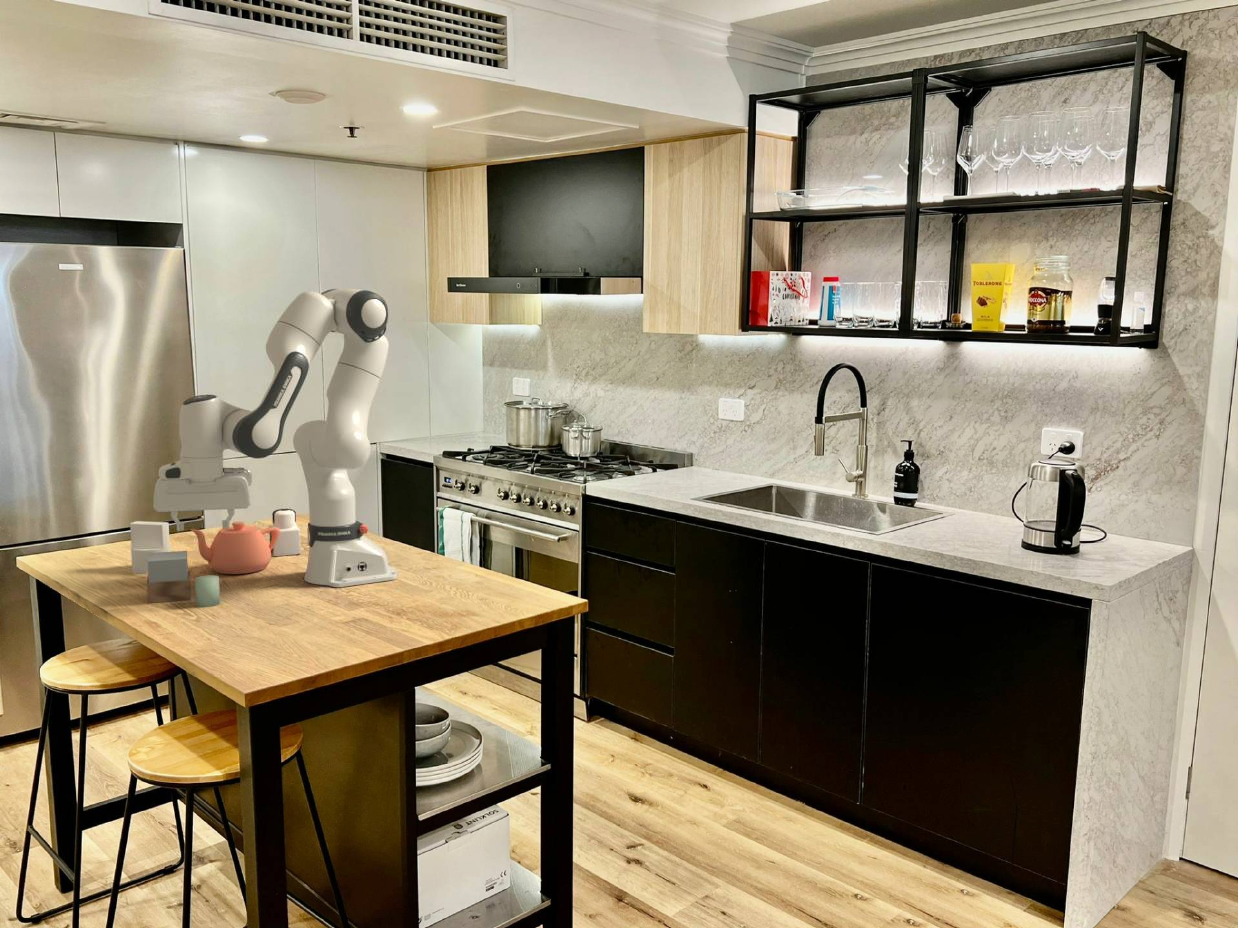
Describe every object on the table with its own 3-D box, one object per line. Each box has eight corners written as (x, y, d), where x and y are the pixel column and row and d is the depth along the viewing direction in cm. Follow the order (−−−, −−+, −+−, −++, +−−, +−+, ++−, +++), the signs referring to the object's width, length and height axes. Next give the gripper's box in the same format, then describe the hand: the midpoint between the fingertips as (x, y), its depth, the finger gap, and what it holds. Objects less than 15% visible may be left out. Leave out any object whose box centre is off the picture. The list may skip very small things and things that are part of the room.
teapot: (198, 582, 250) (196, 533, 248) (184, 568, 262) (182, 521, 260) (289, 570, 262) (287, 523, 260) (272, 558, 274) (270, 513, 272)
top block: (187, 571, 242) (187, 550, 241) (187, 580, 234) (186, 558, 234) (150, 573, 239) (149, 552, 238) (148, 582, 231) (147, 561, 231)
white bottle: (270, 551, 282) (268, 508, 280) (297, 549, 285) (295, 506, 283) (273, 557, 275) (271, 513, 273) (300, 554, 278) (299, 511, 276)
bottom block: (191, 590, 243) (190, 570, 243) (191, 601, 235) (190, 580, 234) (149, 594, 240) (148, 573, 239) (148, 605, 232) (146, 583, 231)
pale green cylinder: (219, 599, 236) (218, 574, 235) (220, 605, 232) (219, 579, 231) (196, 601, 234) (194, 576, 233) (196, 607, 230) (195, 581, 229)
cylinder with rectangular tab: (177, 565, 265) (175, 520, 263) (159, 574, 256) (156, 527, 254) (144, 564, 266) (142, 518, 264) (124, 573, 257) (122, 526, 255)
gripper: (250, 465, 235) (251, 524, 237) (152, 467, 227) (154, 528, 229) (252, 469, 229) (253, 530, 231) (151, 471, 221) (153, 534, 223)
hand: (203, 529), depth 230 cm, fingers open, 8 cm apart
